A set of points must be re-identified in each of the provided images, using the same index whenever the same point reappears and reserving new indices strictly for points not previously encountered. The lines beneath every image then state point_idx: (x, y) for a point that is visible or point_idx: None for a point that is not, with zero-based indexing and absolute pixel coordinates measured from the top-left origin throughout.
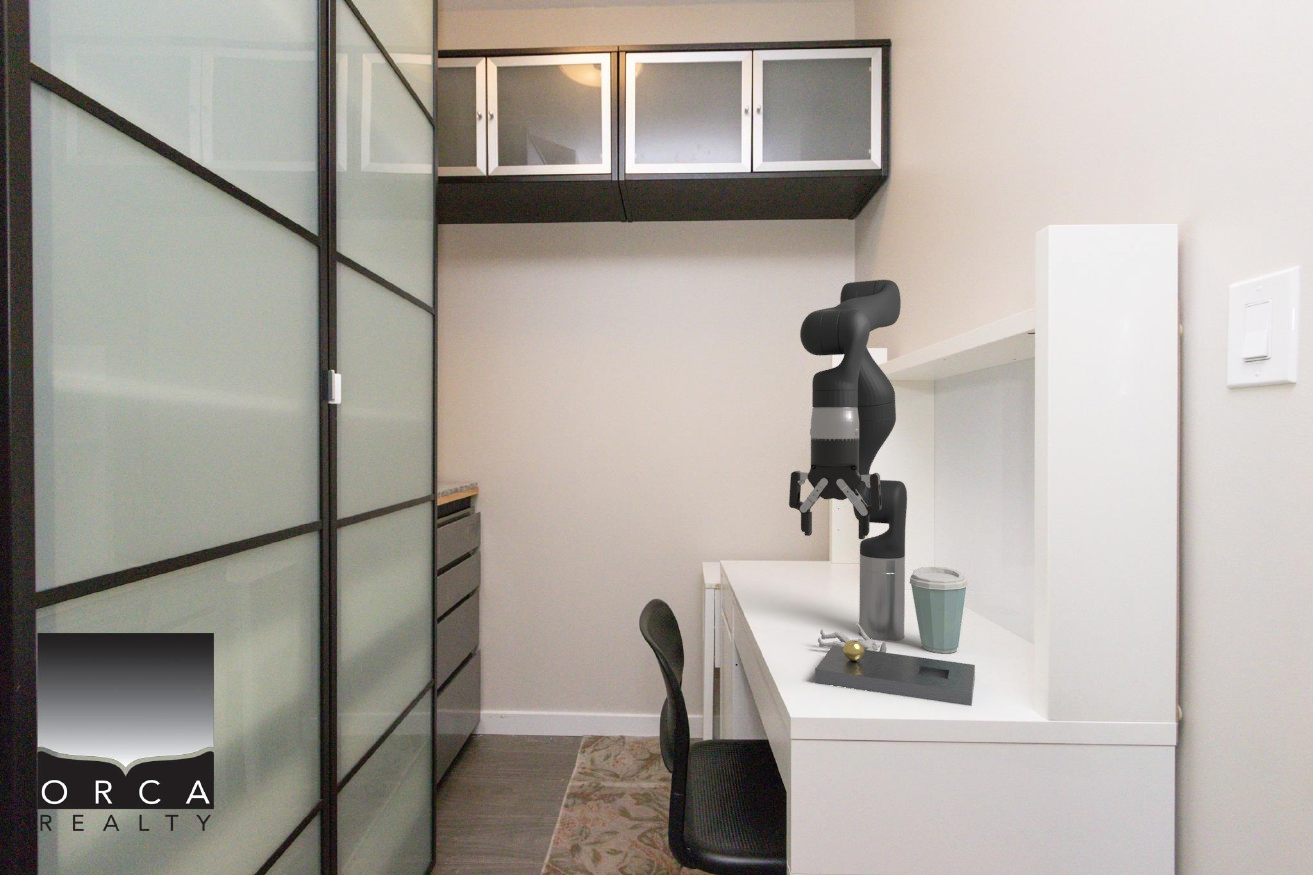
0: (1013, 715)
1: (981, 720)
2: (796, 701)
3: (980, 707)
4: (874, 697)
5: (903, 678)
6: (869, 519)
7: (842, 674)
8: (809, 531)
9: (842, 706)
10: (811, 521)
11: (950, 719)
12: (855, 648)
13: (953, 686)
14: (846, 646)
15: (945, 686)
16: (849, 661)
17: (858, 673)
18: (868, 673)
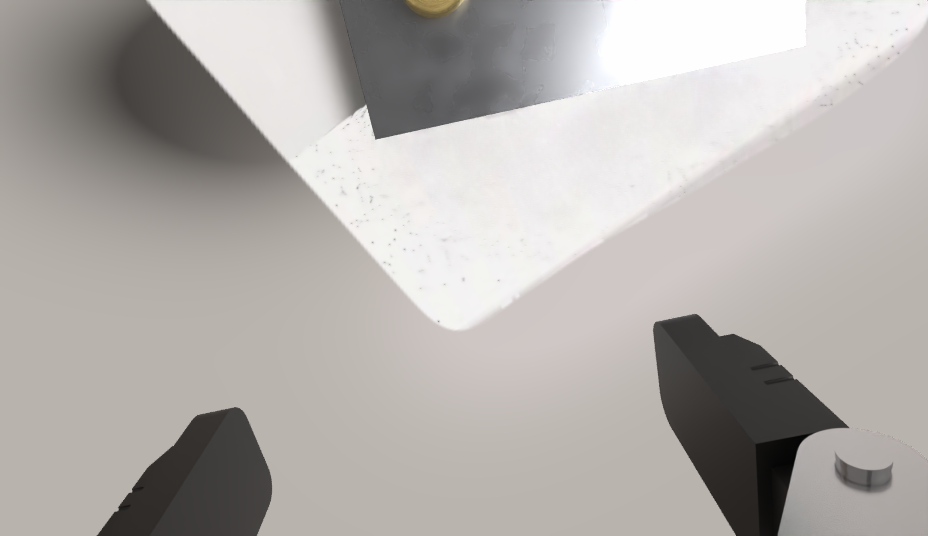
0: (878, 18)
1: (804, 106)
2: (402, 270)
3: None
4: (545, 127)
5: (615, 51)
6: (834, 414)
7: (453, 121)
8: (256, 492)
9: (501, 232)
10: (195, 490)
11: (737, 147)
12: (450, 6)
13: (754, 23)
14: (417, 6)
15: (733, 38)
16: None
17: (492, 94)
18: (516, 75)
